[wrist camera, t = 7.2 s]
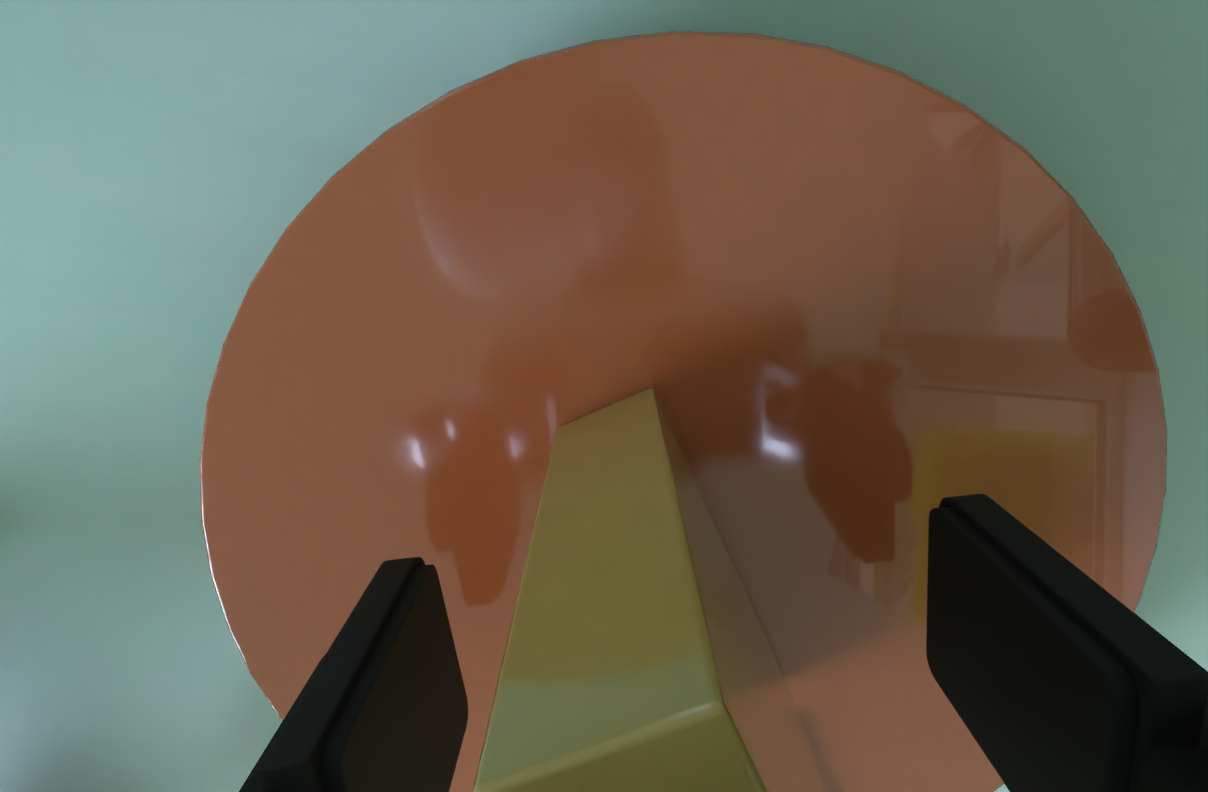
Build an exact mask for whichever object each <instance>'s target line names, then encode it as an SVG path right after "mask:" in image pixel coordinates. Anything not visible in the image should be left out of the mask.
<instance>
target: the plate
mask: <svg viewBox="0 0 1208 792" xmlns="http://www.w3.org/2000/svg"><path fill="white" fill-rule="evenodd" d="M1166 456H1167V428H1166V421H1165V413H1164V406H1163V399H1162V392H1161V384H1160V377H1159V370H1158V367H1157V364H1156V361H1155V357H1154V354H1153V351H1152V347H1151V344H1150V341H1149V337H1148V334H1147V331H1146V328H1145V324H1144V321H1143V318H1142V314H1141V311H1140V309H1139V307H1138V305H1137V303H1136V301H1135V299H1134V297H1133V295H1132V293H1131V291H1130V289H1129V287H1128V284H1127V282H1126V280H1125V278H1124V276H1123V274H1122V272H1121V270H1120V268H1119V266H1118V264H1117V262H1116V260H1115V258H1114V256H1113V254H1112V252H1111V251H1110V249H1109V248H1108V247H1107V245H1106V244H1105V242H1104V241H1103V240H1102V238H1101V237H1100V235H1099V234H1098V232H1097V231H1096V230H1095V228H1094V227H1093V225H1092V224H1091V223H1090V221H1089V220H1088V218H1087V217H1086V215H1085V214H1084V213H1083V211H1082V210H1081V208H1080V207H1079V206H1078V204H1077V203H1076V201H1075V200H1074V199H1073V198H1072V197H1071V196H1070V195H1069V193H1068V192H1067V191H1066V190H1065V189H1064V188H1063V187H1062V186H1061V185H1060V184H1059V183H1058V182H1057V181H1056V180H1055V179H1054V178H1053V177H1052V176H1051V175H1050V174H1049V173H1048V172H1047V171H1046V170H1045V169H1044V168H1043V167H1042V166H1041V165H1040V164H1039V163H1038V162H1037V161H1036V160H1035V159H1034V158H1033V157H1032V156H1031V155H1030V154H1029V153H1028V152H1027V151H1026V150H1025V149H1024V148H1023V147H1022V146H1020V145H1019V144H1018V143H1016V142H1015V141H1014V140H1012V139H1011V138H1010V137H1008V136H1007V135H1005V134H1004V133H1003V132H1001V131H1000V130H999V129H997V128H996V127H995V126H993V125H992V124H991V123H989V122H988V121H987V120H985V119H984V118H982V117H981V116H980V115H978V114H977V113H976V112H974V111H973V110H972V109H970V108H969V107H968V106H966V105H964V104H962V103H960V102H959V101H957V100H955V99H953V98H951V97H949V96H947V95H945V94H943V93H941V92H939V91H937V90H935V89H934V88H932V87H930V86H928V85H926V84H924V83H922V82H920V81H918V80H916V79H914V78H912V77H910V76H909V75H907V74H905V73H903V72H901V71H898V70H895V69H892V68H889V67H886V66H883V65H880V64H878V63H875V62H872V61H869V60H866V59H863V58H860V57H857V56H854V55H851V54H848V53H845V52H842V51H839V50H836V49H833V48H830V47H826V46H821V45H815V44H810V43H804V42H798V41H793V40H787V39H781V38H776V37H770V36H765V35H759V34H753V33H726V32H691V31H669V32H661V33H652V34H644V35H635V36H627V37H619V38H610V39H602V40H594V41H591V42H587V43H583V44H580V45H576V46H572V47H569V48H565V49H561V50H557V51H554V52H550V53H546V54H543V55H539V56H535V57H531V58H528V59H524V60H520V61H518V62H516V63H513V64H511V65H509V66H506V67H504V68H502V69H499V70H497V71H495V72H493V73H490V74H488V75H486V76H483V77H481V78H479V79H476V80H474V81H472V82H469V83H467V84H465V85H462V86H460V87H458V88H456V89H453V90H451V91H449V92H447V93H446V94H444V95H443V96H441V97H439V98H438V99H436V100H435V101H433V102H431V103H430V104H428V105H426V106H425V107H423V108H422V109H420V110H418V111H417V112H415V113H414V114H412V115H410V116H409V117H407V118H405V119H404V120H402V121H401V122H399V123H397V124H396V125H394V126H393V127H391V128H389V129H388V130H386V131H385V132H384V133H383V134H382V135H380V136H379V137H378V138H377V139H376V140H374V141H373V142H372V143H371V144H370V145H369V146H367V147H366V148H365V149H364V150H363V151H361V152H360V153H359V154H358V155H357V156H355V157H354V158H353V159H352V160H351V161H350V162H348V163H347V164H346V165H345V166H344V167H342V168H341V169H340V170H339V171H338V172H337V173H335V174H334V175H333V176H332V177H331V178H330V179H329V180H328V181H327V183H326V184H325V185H324V186H323V187H322V188H321V189H320V191H319V192H318V193H317V194H316V195H315V196H314V197H313V198H312V200H311V201H310V202H309V203H308V204H307V205H306V206H305V208H304V209H303V210H302V211H301V212H300V213H299V214H298V216H297V217H296V218H295V219H294V220H293V221H292V222H291V223H290V225H289V226H288V227H287V228H286V229H285V231H284V233H283V234H282V236H281V237H280V239H279V240H278V242H277V243H276V245H275V247H274V248H273V250H272V251H271V253H270V254H269V256H268V257H267V259H266V260H265V262H264V264H263V265H262V267H261V268H260V270H259V271H258V273H257V274H256V276H255V278H254V279H253V281H252V282H251V284H250V286H249V288H248V290H247V292H246V295H245V297H244V299H243V301H242V304H241V306H240V308H239V310H238V313H237V315H236V317H235V319H234V321H233V324H232V326H231V328H230V330H229V333H228V335H227V337H226V339H225V342H224V344H223V347H222V351H221V354H220V358H219V362H218V365H217V369H216V373H215V376H214V380H213V383H212V387H211V391H210V394H209V398H208V401H207V407H206V415H205V423H204V432H203V440H202V448H201V456H200V488H201V520H202V526H203V532H204V537H205V543H206V549H207V555H208V561H209V566H210V572H211V576H212V579H213V582H214V585H215V588H216V592H217V595H218V598H219V601H220V604H221V607H222V610H223V613H224V616H225V619H226V623H227V626H228V628H229V630H230V632H231V634H232V636H233V638H234V640H235V642H236V644H237V646H238V649H239V651H240V653H241V655H242V657H243V659H244V661H245V663H246V665H247V667H248V669H249V671H250V674H251V675H252V677H253V678H254V680H255V681H256V683H257V684H258V686H259V687H260V689H261V690H262V692H263V693H264V695H265V697H266V698H267V700H268V701H269V703H270V704H271V706H272V707H273V709H274V710H275V712H276V713H277V715H278V716H279V718H280V719H281V720H282V721H283V720H284V718H285V717H286V715H287V713H288V712H289V710H290V709H291V707H292V705H293V704H294V702H295V700H296V699H297V697H298V696H299V694H300V692H301V691H302V689H303V688H304V686H305V684H306V683H307V681H308V680H309V678H310V676H311V675H312V673H313V671H314V670H315V668H316V667H317V665H318V663H319V662H320V660H321V659H322V658H323V656H324V655H325V654H326V653H327V651H328V650H329V648H330V647H331V645H332V643H333V642H334V640H335V638H336V637H337V635H338V634H339V632H340V630H341V629H342V627H343V625H344V624H345V622H346V621H347V619H348V617H349V616H350V614H351V612H352V611H353V609H354V608H355V606H356V604H357V603H358V601H359V599H360V598H361V596H362V595H363V593H364V591H365V590H366V588H367V586H368V585H369V583H370V582H371V580H372V578H373V577H374V575H375V573H376V572H377V570H378V569H379V567H380V565H381V564H382V563H383V562H384V561H386V560H394V559H403V558H412V557H421V558H422V559H423V560H424V562H425V565H430V564H433V565H434V566H435V567H436V569H437V573H438V576H439V581H440V585H441V589H442V593H443V598H444V602H445V606H446V610H447V615H448V619H449V623H450V627H451V632H452V636H453V640H454V644H455V649H456V653H457V657H458V661H459V665H460V670H461V674H462V678H463V682H464V687H465V691H466V695H467V700H468V722H467V727H466V731H465V734H464V738H463V742H462V745H461V749H460V753H459V757H458V760H457V764H456V768H455V772H454V775H453V779H452V783H451V786H450V790H449V792H994V791H996V790H997V789H998V788H1000V787H1001V786H1002V785H1003V784H1004V782H1003V781H1002V779H1001V778H1000V776H999V775H998V773H997V772H996V770H995V769H994V767H993V766H992V764H991V763H990V761H989V760H988V758H987V757H986V755H985V754H984V752H983V751H982V749H981V748H980V746H979V745H978V743H977V742H976V740H975V739H974V737H973V736H972V734H971V733H970V731H969V730H968V728H967V727H966V725H965V724H964V722H963V721H962V719H961V718H960V716H959V715H958V713H957V712H956V710H955V709H954V707H953V706H952V704H951V703H950V701H949V700H948V698H947V697H946V695H945V694H944V692H943V691H942V689H941V688H940V686H939V685H938V683H937V682H936V680H935V679H934V677H933V675H932V673H931V671H930V668H929V665H928V661H927V655H926V636H927V582H928V528H929V513H930V511H931V510H932V509H933V508H939V504H940V502H941V500H942V499H943V498H946V497H954V496H963V495H972V494H985V495H987V496H988V497H990V498H991V499H992V500H993V501H995V502H996V503H997V504H998V505H1000V506H1001V507H1002V508H1003V509H1005V510H1006V511H1007V512H1008V513H1010V514H1011V515H1012V516H1013V517H1015V518H1016V519H1017V520H1018V521H1020V522H1021V523H1022V524H1023V525H1025V526H1026V527H1027V528H1028V529H1030V530H1031V531H1032V532H1033V533H1035V534H1036V535H1037V536H1038V537H1040V538H1041V539H1042V540H1043V541H1045V542H1046V543H1047V544H1048V545H1050V546H1051V547H1052V548H1053V549H1055V550H1056V551H1057V552H1058V553H1060V554H1061V555H1062V556H1063V557H1065V558H1066V559H1067V560H1068V561H1070V562H1071V563H1072V564H1073V565H1075V566H1076V567H1077V568H1078V569H1080V570H1081V571H1082V572H1083V573H1085V574H1086V575H1087V576H1088V577H1090V578H1091V579H1092V580H1093V581H1095V582H1096V583H1097V584H1098V585H1100V586H1101V587H1102V588H1103V589H1105V590H1106V591H1107V592H1108V593H1110V594H1111V595H1112V596H1114V597H1115V598H1116V599H1117V600H1119V601H1120V602H1121V603H1122V604H1124V605H1125V606H1126V607H1127V608H1129V609H1130V610H1131V611H1132V612H1134V611H1135V609H1136V607H1137V605H1138V603H1139V601H1140V598H1141V595H1142V591H1143V588H1144V585H1145V582H1146V579H1147V575H1148V572H1149V569H1150V566H1151V563H1152V560H1153V556H1154V553H1155V550H1156V547H1157V541H1158V535H1159V529H1160V523H1161V517H1162V511H1163V505H1164V499H1165V493H1166Z"/></svg>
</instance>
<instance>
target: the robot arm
mask: <svg viewBox="0 0 1208 792" xmlns="http://www.w3.org/2000/svg"><path fill="white" fill-rule="evenodd" d="M926 655H927V661H928V665H929V668H930V671H931V673H932V675H933V677H934V679H935V680H936V682H937V683H938V685H939V686H940V688H941V689H942V691H943V692H944V694H945V695H946V697H947V698H948V700H949V701H950V703H951V704H952V706H953V707H954V709H955V710H956V712H957V713H958V715H959V716H960V718H961V719H962V721H963V722H964V724H965V725H966V727H967V728H968V730H969V731H970V733H971V734H972V736H973V737H974V739H975V740H976V742H977V743H978V745H979V746H980V748H981V749H982V751H983V752H984V754H985V755H986V757H987V758H988V760H989V761H990V763H991V764H992V766H993V767H994V769H995V770H996V772H997V773H998V775H999V776H1000V778H1001V779H1002V781H1003V782H1004V784H1005V785H1006V787H1007V788H1008V790H1009V791H1010V792H1208V672H1207V671H1206V670H1205V669H1204V668H1202V667H1201V666H1200V665H1199V664H1197V663H1196V662H1195V661H1194V660H1192V659H1191V658H1190V657H1189V656H1187V655H1186V654H1185V653H1184V652H1182V651H1181V650H1180V649H1179V648H1177V647H1176V646H1175V645H1174V644H1172V643H1171V642H1170V641H1169V640H1167V639H1166V638H1165V637H1164V636H1162V635H1161V634H1160V633H1159V632H1157V631H1156V630H1155V629H1154V628H1152V627H1151V626H1150V625H1149V624H1147V623H1146V622H1145V621H1144V620H1142V619H1141V618H1140V617H1139V616H1137V615H1136V614H1135V613H1134V612H1132V611H1131V610H1130V609H1129V608H1127V607H1126V606H1125V605H1124V604H1122V603H1121V602H1120V601H1119V600H1117V599H1116V598H1115V597H1114V596H1112V595H1111V594H1110V593H1108V592H1107V591H1106V590H1105V589H1103V588H1102V587H1101V586H1100V585H1098V584H1097V583H1096V582H1095V581H1093V580H1092V579H1091V578H1090V577H1088V576H1087V575H1086V574H1085V573H1083V572H1082V571H1081V570H1080V569H1078V568H1077V567H1076V566H1075V565H1073V564H1072V563H1071V562H1070V561H1068V560H1067V559H1066V558H1065V557H1063V556H1062V555H1061V554H1060V553H1058V552H1057V551H1056V550H1055V549H1053V548H1052V547H1051V546H1050V545H1048V544H1047V543H1046V542H1045V541H1043V540H1042V539H1041V538H1040V537H1038V536H1037V535H1036V534H1035V533H1033V532H1032V531H1031V530H1030V529H1028V528H1027V527H1026V526H1025V525H1023V524H1022V523H1021V522H1020V521H1018V520H1017V519H1016V518H1015V517H1013V516H1012V515H1011V514H1010V513H1008V512H1007V511H1006V510H1005V509H1003V508H1002V507H1001V506H1000V505H998V504H997V503H996V502H995V501H993V500H992V499H991V498H990V497H988V496H987V495H985V494H972V495H963V496H954V497H946V498H943V499H942V500H941V502H940V504H939V508H933V509H932V510H931V511H930V513H929V528H928V582H927V636H926ZM467 722H468V700H467V695H466V691H465V687H464V682H463V678H462V674H461V670H460V665H459V661H458V657H457V653H456V649H455V644H454V640H453V636H452V632H451V627H450V623H449V619H448V615H447V610H446V606H445V602H444V598H443V593H442V589H441V585H440V581H439V576H438V573H437V569H436V567H435V566H434V565H433V564H430V565H425V562H424V560H423V559H422V558H421V557H412V558H403V559H394V560H386V561H384V562H383V563H382V564H381V565H380V567H379V569H378V570H377V572H376V573H375V575H374V577H373V578H372V580H371V582H370V583H369V585H368V586H367V588H366V590H365V591H364V593H363V595H362V596H361V598H360V599H359V601H358V603H357V604H356V606H355V608H354V609H353V611H352V612H351V614H350V616H349V617H348V619H347V621H346V622H345V624H344V625H343V627H342V629H341V630H340V632H339V634H338V635H337V637H336V638H335V640H334V642H333V643H332V645H331V647H330V648H329V650H328V651H327V653H326V654H325V655H324V656H323V658H322V659H321V660H320V662H319V663H318V665H317V667H316V668H315V670H314V671H313V673H312V675H311V676H310V678H309V680H308V681H307V683H306V684H305V686H304V688H303V689H302V691H301V692H300V694H299V696H298V697H297V699H296V700H295V702H294V704H293V705H292V707H291V709H290V710H289V712H288V713H287V715H286V717H285V718H284V720H283V721H282V723H281V725H280V726H279V728H278V730H277V731H276V733H275V734H274V736H273V738H272V739H271V741H270V742H269V744H268V746H267V747H266V749H265V751H264V752H263V754H262V755H261V757H260V759H259V760H258V762H257V763H256V765H255V767H254V768H253V770H252V771H251V773H250V775H249V776H248V778H247V780H246V781H245V783H244V784H243V786H242V788H241V789H240V791H239V792H449V790H450V786H451V783H452V779H453V775H454V772H455V768H456V764H457V760H458V757H459V753H460V749H461V745H462V742H463V738H464V734H465V731H466V727H467Z"/></svg>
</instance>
